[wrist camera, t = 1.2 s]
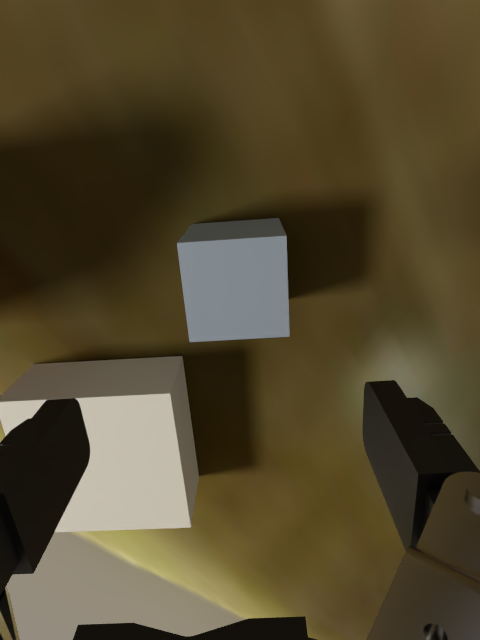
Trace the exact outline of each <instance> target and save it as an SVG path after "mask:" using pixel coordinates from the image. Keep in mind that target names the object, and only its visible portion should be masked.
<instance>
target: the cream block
mask: <svg viewBox="0 0 480 640" xmlns="http://www.w3.org/2000/svg"><path fill="white" fill-rule="evenodd" d="M69 398H75V399H77V400H78V402H79V404H80V407H81V411H82V415H83V419H84V423H85V427H86V431H87V435H88V439H89V443H90V459H89V463H88V466H87V468H86V470H85V472H84V474H83V476H82V478H81V480H80V482H79V484H78V486H77V488H76V490H75V492H74V494H73V496H72V498H71V500H70V502H69V504H68V506H67V508H66V510H65V512H64V514H63V516H62V518H61V520H60V522H59V524H58V526H57V528H56V530H55V532H75V531H103V530H132V529H160V528H189V527H191V524H192V518H193V511H194V505H195V498H196V492H197V486H198V479H199V473H198V466H197V458H196V451H195V444H194V437H193V429H192V422H191V415H190V407H189V400H188V393H187V386H186V378H185V371H184V364H183V356H173V357H154V358H136V359H118V360H99V361H81V362H62V363H44V364H33V365H32V366H31V367H30V368H29V369H28V370H27V371H26V372H25V373H24V374H23V375H22V376H21V377H20V378H19V379H18V380H17V381H16V382H15V383H14V384H13V385H11V386H10V387H9V388H8V389H7V390H6V391H5V392H4V393H3V394H2V395H1V396H0V420H1V423H2V426H3V429H4V432H5V435H7V434H8V433H9V432H10V431H11V430H12V429H14V428H15V427H17V426H18V425H19V424H21V423H22V422H24V421H25V420H26V419H31V418H32V417H33V416H34V414H35V413H36V412H37V411H38V410H39V408H40V407H41V406H42V405H43V403H44V402H45V401H47V400H52V399H69Z"/></svg>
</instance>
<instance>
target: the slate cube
mask: <svg viewBox="0 0 480 640" xmlns="http://www.w3.org/2000/svg"><path fill="white" fill-rule="evenodd" d="M177 248H178V256H179V263H180V271H181V279H182V287H183V295H184V302H185V310H186V318H187V326H188V333H189V341H190V342H201V341H218V340H236V339H254V338H272V337H289V336H290V335H289V301H288V268H287V236H286V233H285V231H284V229H283V226H282V224H281V222H280V220H279V218H271V219H257V220H242V221H228V222H214V223H199V224H192V225H191V226H190V227H189V228H188V230H187V231H186V232H185V233H184V235H183V236H182V237H181V238H180V240H179V241H178V242H177Z"/></svg>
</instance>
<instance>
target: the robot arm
mask: <svg viewBox="0 0 480 640" xmlns="http://www.w3.org/2000/svg"><path fill="white" fill-rule="evenodd" d="M363 441H364V446H365V450H366V453H367V456H368V458H369V461H370V463H371V466H372V468H373V471H374V473H375V476H376V478H377V481H378V483H379V486H380V488H381V491H382V493H383V496H384V498H385V501H386V503H387V506H388V508H389V510H390V513H391V515H392V518H393V520H394V523H395V525H396V528H397V530H398V533H399V535H400V538H401V540H402V543H403V545H404V548H405V550H406V552H405V554H404V556H403V558H402V561H401V563H400V565H399V567H398V570H397V572H396V574H395V576H394V579H393V581H392V583H391V585H390V587H389V590H388V592H387V594H386V596H385V599H384V601H383V603H382V605H381V608H380V610H379V612H378V614H377V616H376V619H375V621H374V623H373V625H372V628H371V630H370V632H369V634H368V636H367V639H366V640H480V471H479V470H478V468H477V467H476V466H475V464H474V463H473V462H472V460H471V459H470V458H469V456H468V455H467V453H466V452H465V451H464V449H463V448H462V447H461V445H460V444H459V443H458V441H457V440H456V439H455V437H454V436H453V435H451V432H450V430H449V429H448V428H447V426H446V425H445V424H443V421H442V419H441V418H440V417H439V415H438V414H437V413H436V411H435V410H434V409H433V408H432V407H431V406H429V405H428V404H426V403H425V402H423V401H422V400H420V399H419V398H407V397H406V396H405V394H404V393H403V391H402V390H401V388H400V387H399V385H398V384H397V382H396V381H394V380H392V381H374V382H366V384H365V388H364V408H363ZM89 459H90V443H89V439H88V435H87V431H86V427H85V423H84V419H83V415H82V411H81V407H80V404H79V402H78V400H77V399H75V398H69V399H52V400H47V401H45V402H44V403H43V405H42V406H41V407H40V408H39V410H38V411H37V412H36V413H35V414H34V416H33V417H32V418H31V419H26V420H25V421H24V422H22V423H21V424H19V425H18V426H17V427H15V428H14V429H12V430H11V431H10V432H9V433H8V434H7V435H6V437H5V438H4V439H3V440H2V441H1V443H0V640H20V639H19V635H18V630H17V626H16V622H15V617H14V613H13V608H12V604H11V600H10V595H9V592H8V590H7V587H6V585H7V583H8V581H9V579H10V577H11V576H12V574H32V573H34V571H35V569H36V567H37V565H38V563H39V561H40V559H41V557H42V555H43V553H44V551H45V550H46V548H47V545H48V543H49V542H50V540H51V538H52V536H53V534H54V532H55V530H56V528H57V526H58V524H59V522H60V520H61V518H62V516H63V514H64V512H65V510H66V508H67V506H68V504H69V502H70V500H71V498H72V496H73V494H74V492H75V490H76V488H77V486H78V484H79V482H80V480H81V478H82V476H83V474H84V472H85V470H86V468H87V466H88V463H89ZM73 640H316V639H313V638H309V637H308V635H307V627H306V619H305V617H281V618H254V619H246V620H243V621H240V622H236V623H233V624H231V625H227V626H224V627H221V628H217V629H214V630H211V631H208V632H205V633H202V634H198V635H195V636H191V637H185V636H180V635H177V634H173V633H169V632H165V631H162V630H158V629H154V628H150V627H146V626H143V625H139V624H135V623H120V624H118V623H117V624H91V625H78V627H77V630H76V632H75V636H74V638H73Z"/></svg>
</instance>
